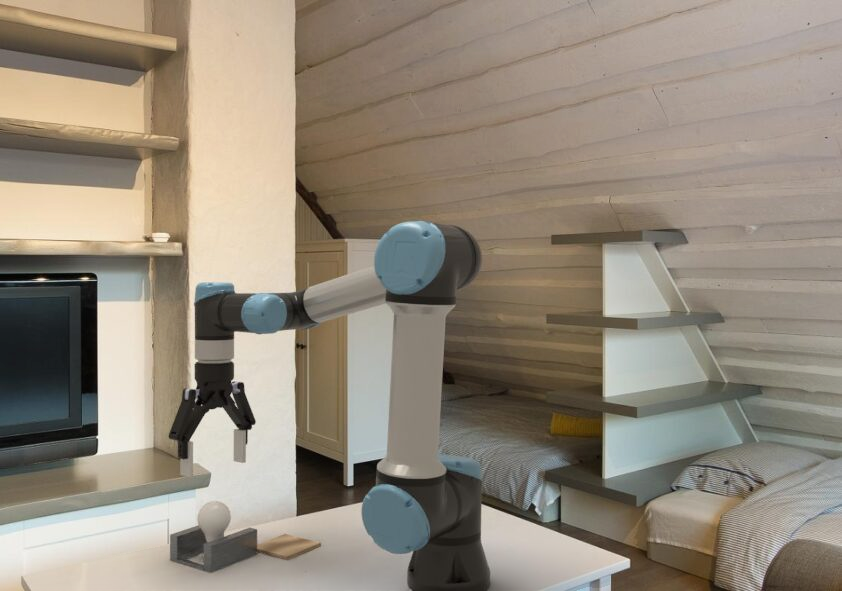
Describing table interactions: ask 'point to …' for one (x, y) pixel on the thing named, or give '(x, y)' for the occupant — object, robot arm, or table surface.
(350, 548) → the table surface
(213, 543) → the housing
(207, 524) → the lightbulb
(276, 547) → the cork pad
